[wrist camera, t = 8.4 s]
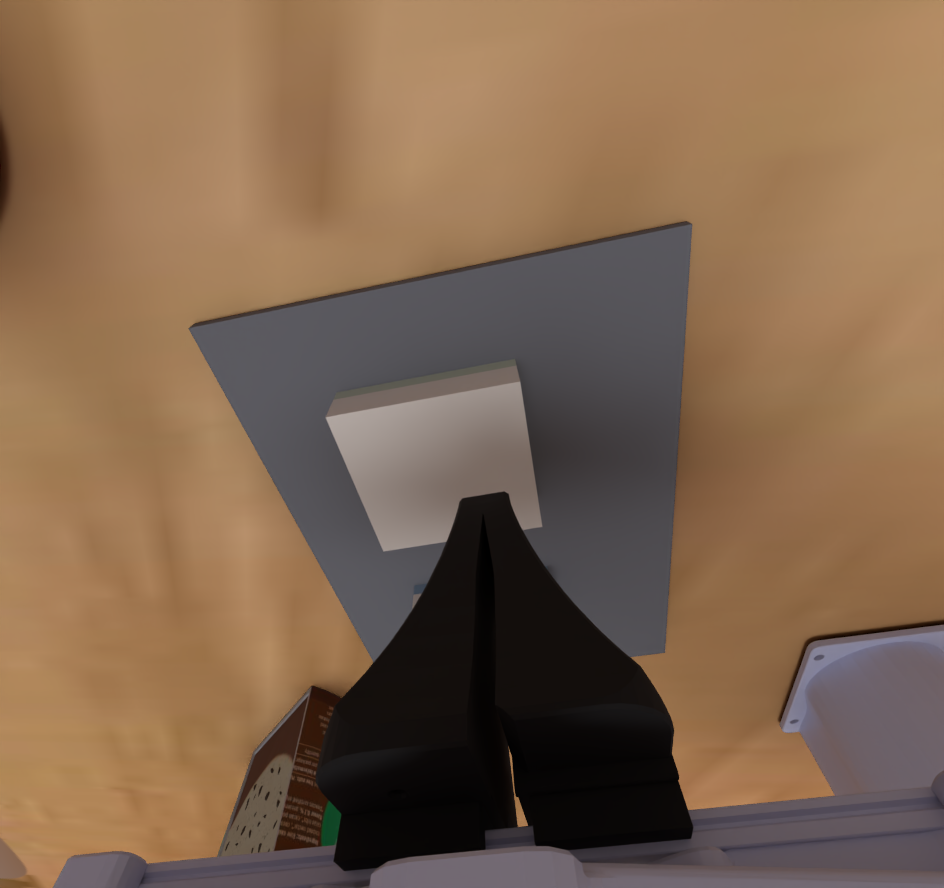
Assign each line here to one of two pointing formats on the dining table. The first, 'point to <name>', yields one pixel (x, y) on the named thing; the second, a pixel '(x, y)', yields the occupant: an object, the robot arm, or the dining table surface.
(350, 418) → the tile sage
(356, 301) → the mat
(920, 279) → the dining table surface
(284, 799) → the food container
